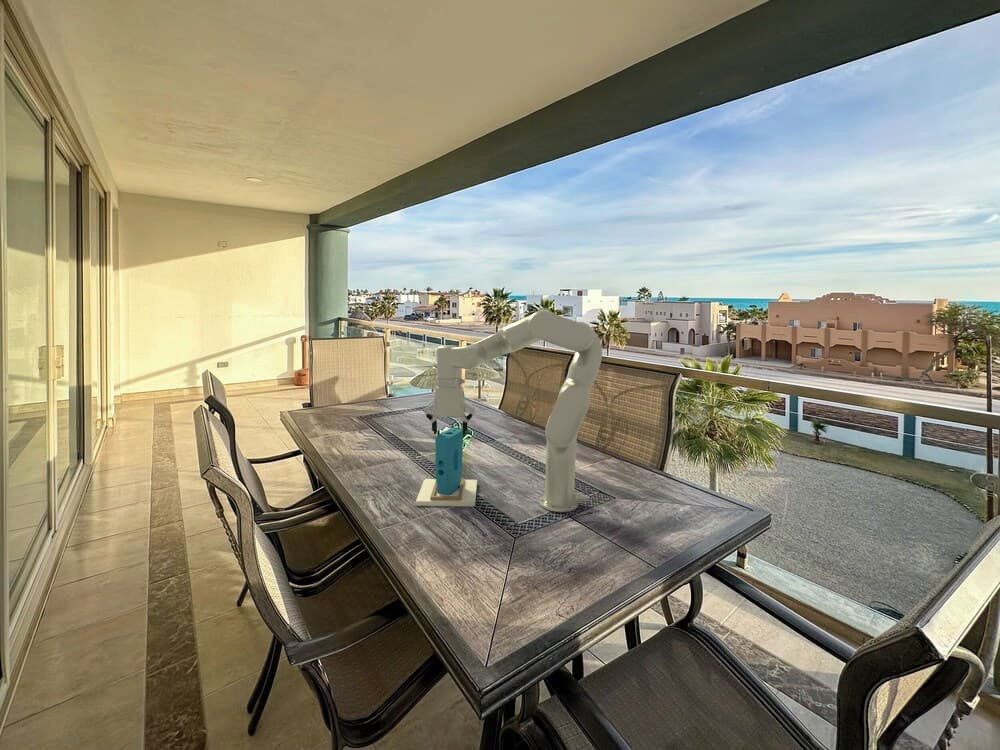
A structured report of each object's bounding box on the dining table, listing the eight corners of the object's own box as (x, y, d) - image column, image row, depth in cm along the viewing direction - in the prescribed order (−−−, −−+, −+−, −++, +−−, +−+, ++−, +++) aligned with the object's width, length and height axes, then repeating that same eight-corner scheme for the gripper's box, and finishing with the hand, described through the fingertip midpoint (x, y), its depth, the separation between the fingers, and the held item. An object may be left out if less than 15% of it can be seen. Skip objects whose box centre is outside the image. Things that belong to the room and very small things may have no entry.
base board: (477, 483, 167) (477, 477, 167) (474, 506, 148) (474, 499, 148) (424, 482, 167) (424, 476, 166) (415, 505, 148) (415, 498, 148)
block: (447, 497, 151) (448, 438, 148) (434, 495, 153) (434, 437, 150) (463, 484, 162) (463, 429, 159) (450, 482, 164) (450, 428, 161)
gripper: (475, 380, 156) (476, 430, 158) (424, 381, 155) (425, 430, 158) (474, 384, 148) (475, 436, 151) (420, 384, 148) (422, 436, 150)
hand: (449, 433), depth 154 cm, fingers open, 9 cm apart
